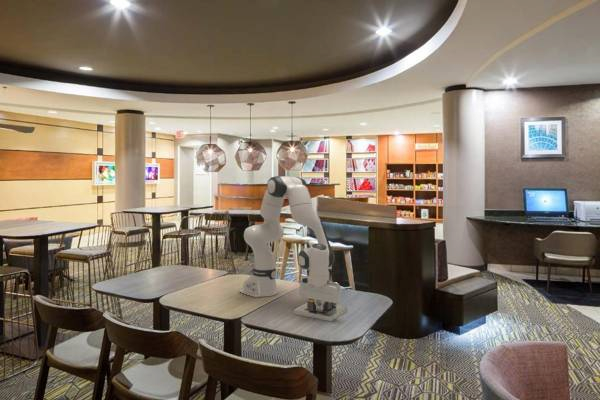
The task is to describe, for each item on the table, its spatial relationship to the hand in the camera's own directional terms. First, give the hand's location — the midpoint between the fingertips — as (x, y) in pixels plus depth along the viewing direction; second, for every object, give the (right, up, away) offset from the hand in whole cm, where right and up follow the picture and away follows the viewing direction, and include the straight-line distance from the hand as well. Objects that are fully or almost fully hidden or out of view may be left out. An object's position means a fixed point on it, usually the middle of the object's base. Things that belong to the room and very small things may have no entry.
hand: (319, 309), depth 176 cm
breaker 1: (+4, -1, +4) cm, 5 cm away
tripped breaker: (-3, -1, +2) cm, 4 cm away
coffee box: (+3, -2, +24) cm, 24 cm away
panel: (+1, -3, +6) cm, 6 cm away
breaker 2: (+6, 0, +8) cm, 10 cm away
